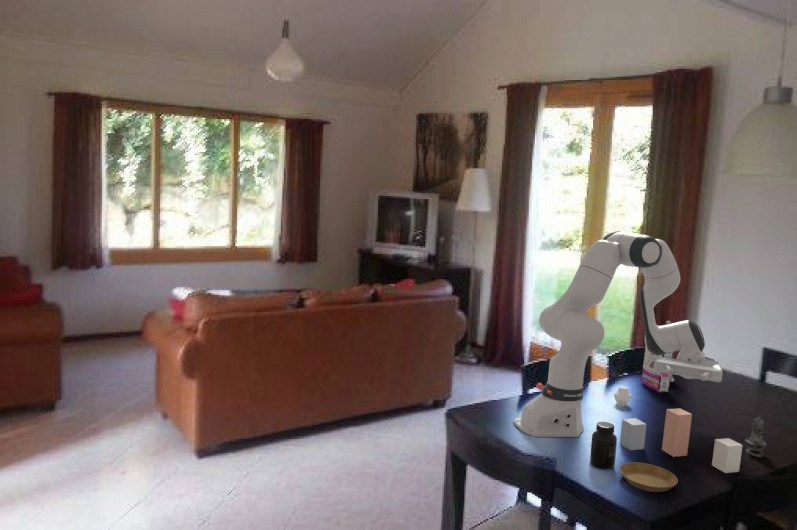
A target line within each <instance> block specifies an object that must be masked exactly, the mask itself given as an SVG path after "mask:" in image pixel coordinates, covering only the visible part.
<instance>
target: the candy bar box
mask: <svg viewBox="0 0 797 530" xmlns="http://www.w3.org/2000/svg"><path fill="white" fill-rule="evenodd" d="M643 355H644V356H643V363H642V374H641V379H640V380H641V381H640V383H641V385H643V386H645V387H647V388H649V389H651V390H652V391H655V392H657V393H669V389H670V375H669V374H668V373H664V372H658V371H655V370H654V365H655V360H656V359H657V358H660V357H665V358H673V357H674V352H669V353H666V354H663V355H659V356H658V355H655V354H653V353H651V352H650V351H648V349H647V347H646V345H645V348H644V354H643ZM673 359H674V358H673Z"/></svg>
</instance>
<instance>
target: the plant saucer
mask: <svg viewBox="0 0 797 530" xmlns="http://www.w3.org/2000/svg"><path fill="white" fill-rule="evenodd" d="M619 472H620V474H621V475H622V477H623V479H625V480H626V482H627V483H629V484H630V485H631V486H633V487H634V488H637V489H639V490H642V491H645V492H652V493H663V492H667V491H669V490H670V489H673V487H675V486H676V485H677V484H678V482H679V480H678V478H677V476H676V475H675V473H672V472H671V471H669V470H668V469H665V468H663V467H660V466H659V465H658V466H657V465H654V464H650V463H645V462H626V463H623V464H621V465H620V467H619Z"/></svg>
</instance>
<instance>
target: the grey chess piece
mask: <svg viewBox="0 0 797 530" xmlns="http://www.w3.org/2000/svg"><path fill="white" fill-rule="evenodd" d="M764 424H765V421H764V420H763V419H762V418H761V416H760V415H759V416H758V417H757V418H754V419H753V422H752V428H750V430H751V433H750V437H748V438H745V439H744V441H745V445H746V446H747V449H744V452H745V453H746V454H747V455H749V456H752V457H753V456H754V457H760V458H762V457H764V456H765V453H764V452H763V451H764V450H765V449H766V446H767V443H766V442H765V440H764V441H763V435H764V433H765V430H764V428H765V427H764V426H765V425H764Z"/></svg>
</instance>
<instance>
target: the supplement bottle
mask: <svg viewBox="0 0 797 530" xmlns="http://www.w3.org/2000/svg"><path fill="white" fill-rule="evenodd" d="M595 427H596V428H595V431H594V432H593V433H592V435H591V445H590V456H589V457H590V458H589V462H590V464H591V465H592V466H593V467H595V468H597V469H599V470H600V469H601V470H610V469H613V468H614V467H615V466H616V465H615V464H616V456H617V455H616V454H617V443H618V438H617V436H616V434H615V425H614V424H613V423H610V422H608V421H599V422H597V423H596V426H595Z"/></svg>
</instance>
